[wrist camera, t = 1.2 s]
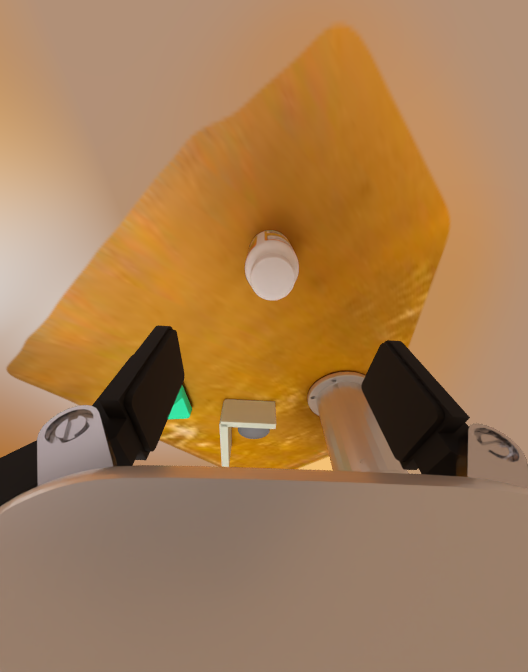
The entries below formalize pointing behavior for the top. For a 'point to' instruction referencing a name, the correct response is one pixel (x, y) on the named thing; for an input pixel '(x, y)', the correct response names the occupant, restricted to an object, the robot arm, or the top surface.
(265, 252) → the supplement bottle
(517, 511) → the robot arm
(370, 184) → the top surface
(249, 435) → the pad
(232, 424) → the corner walls
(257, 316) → the top surface
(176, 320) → the top surface
